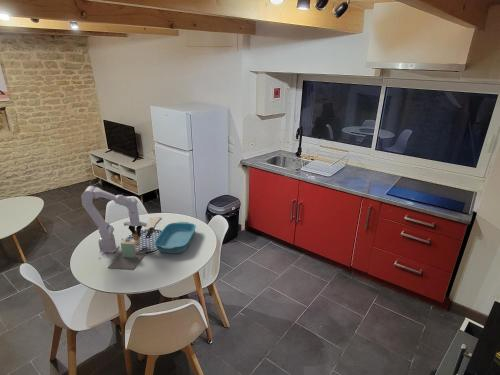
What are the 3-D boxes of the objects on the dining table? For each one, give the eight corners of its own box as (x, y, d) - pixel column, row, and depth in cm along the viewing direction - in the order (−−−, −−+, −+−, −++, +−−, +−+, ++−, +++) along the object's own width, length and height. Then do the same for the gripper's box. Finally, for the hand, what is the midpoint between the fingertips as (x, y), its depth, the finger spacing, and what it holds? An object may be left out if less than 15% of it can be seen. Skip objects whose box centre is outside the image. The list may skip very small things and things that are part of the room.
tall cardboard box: (135, 235, 211) (133, 229, 209) (143, 235, 211) (142, 229, 208) (127, 246, 201) (126, 240, 199) (136, 247, 201) (135, 241, 198)
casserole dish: (169, 228, 233) (168, 220, 231) (199, 230, 232) (198, 221, 229) (150, 256, 199) (149, 247, 197) (185, 258, 197) (184, 248, 195)
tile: (122, 257, 197) (120, 243, 194) (124, 255, 199) (121, 242, 195) (135, 257, 197) (132, 244, 193) (136, 256, 198) (134, 242, 195)
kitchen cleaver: (149, 217, 249) (161, 215, 249) (149, 219, 250) (162, 217, 250) (136, 237, 220) (150, 235, 220) (137, 239, 221) (151, 238, 221)
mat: (107, 268, 188) (107, 267, 187) (122, 251, 204) (121, 250, 204) (133, 269, 186) (133, 269, 186) (145, 253, 203) (145, 252, 203)
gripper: (147, 214, 205) (149, 232, 210) (126, 213, 206) (129, 231, 211) (143, 219, 199) (145, 238, 204) (121, 218, 200) (124, 237, 205)
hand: (136, 235), depth 207 cm, fingers closed on tall cardboard box, 3 cm apart
